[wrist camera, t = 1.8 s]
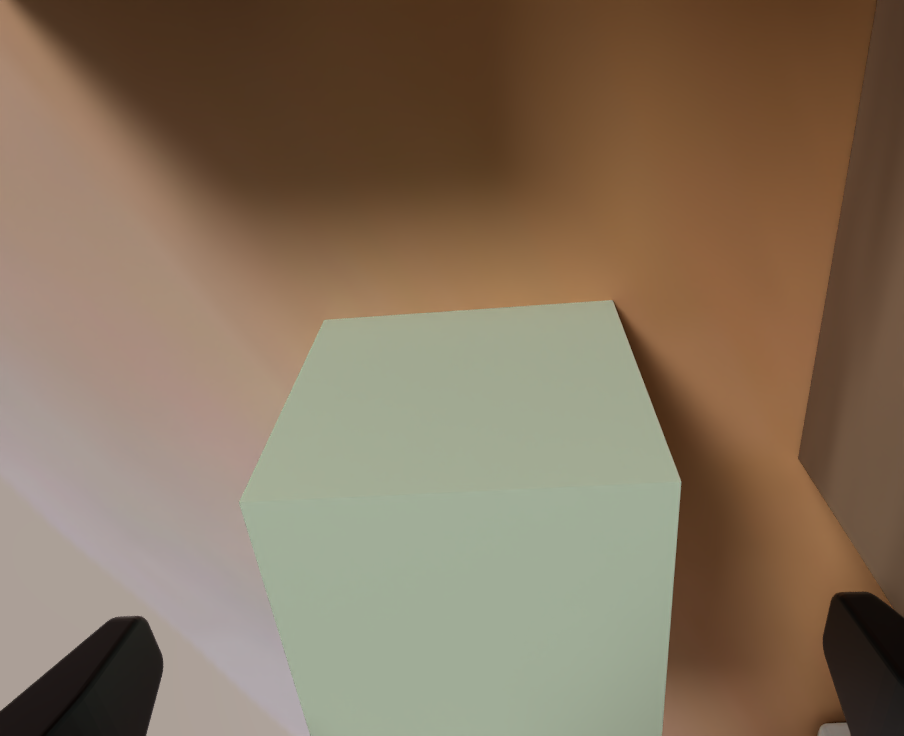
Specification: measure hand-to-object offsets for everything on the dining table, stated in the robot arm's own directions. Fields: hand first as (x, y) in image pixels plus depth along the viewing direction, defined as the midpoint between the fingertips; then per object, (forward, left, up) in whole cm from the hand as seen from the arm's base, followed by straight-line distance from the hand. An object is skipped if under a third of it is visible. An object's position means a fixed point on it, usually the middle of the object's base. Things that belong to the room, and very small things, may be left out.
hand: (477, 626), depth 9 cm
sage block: (0, 0, -5) cm, 5 cm away
